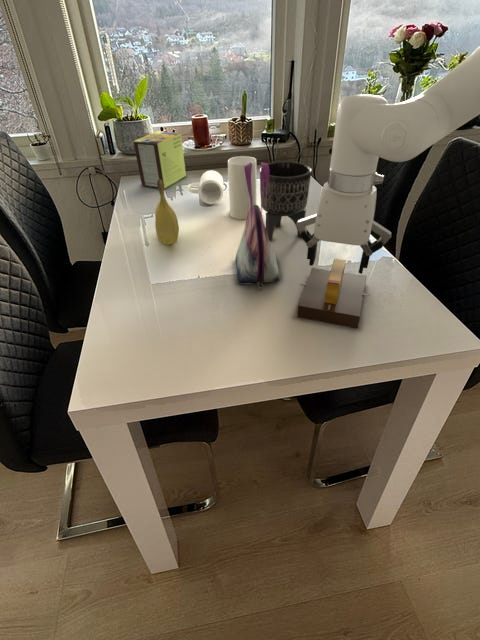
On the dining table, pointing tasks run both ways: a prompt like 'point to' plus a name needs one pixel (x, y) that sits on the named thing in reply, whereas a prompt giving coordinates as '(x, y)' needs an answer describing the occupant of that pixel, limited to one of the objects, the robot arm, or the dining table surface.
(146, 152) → the protein box
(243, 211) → the cup
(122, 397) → the dining table surface
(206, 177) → the mug
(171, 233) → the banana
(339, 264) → the yellow block
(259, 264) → the handbag
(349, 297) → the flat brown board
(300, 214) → the planter
